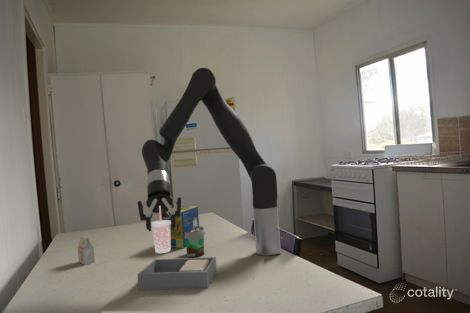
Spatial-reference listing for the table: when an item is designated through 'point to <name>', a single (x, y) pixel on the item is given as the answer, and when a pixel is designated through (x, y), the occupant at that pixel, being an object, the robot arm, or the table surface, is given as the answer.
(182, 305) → the table surface
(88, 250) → the small milk carton
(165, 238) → the beverage cup
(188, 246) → the food container
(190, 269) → the beige rectangular block
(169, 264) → the tray
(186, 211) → the protein box
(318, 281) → the table surface
